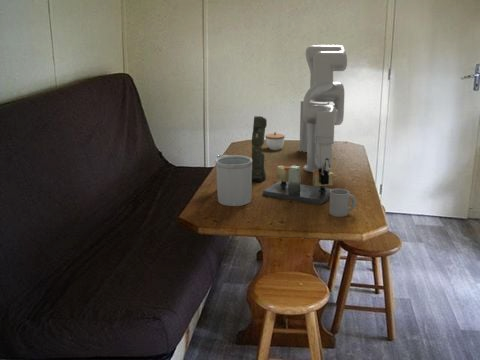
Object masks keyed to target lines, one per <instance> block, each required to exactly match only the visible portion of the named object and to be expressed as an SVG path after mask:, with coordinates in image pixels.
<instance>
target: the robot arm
mask: <svg viewBox="0 0 480 360" xmlns="http://www.w3.org/2000/svg"><path fill="white" fill-rule="evenodd" d="M305 59H306V63H307V66H308V69H309V72H310V73H309V74H310V79H309V80H310V81H309V82H310V84H309V86H310V87H309V89H308V90H307V91H306V93H305V95H304V97H303V100H304V101H303V118H304V121H305V122H306V123H307V125H308V142H307V153H306V164H305V165H304V166H303V170H304V171H305V172H307V173H313V170H317V171H319V173H322V175H321V185H325V184H329V172H330V169H331V167H332V164H333V163H332V162H333V161H332V160H333V159H332V158H333V155H332V154H333V151H332V150H333V148H332V146H333V145H334V143H335V126H340V125H342V124H343V121H344V117H345V116H344V115H345V113H344V112H345V87H344V84H343V83H342V82H339V81H334V72H344V71H346V69H347V66H348V57H347V52H346V49H345V47H344V45H340V44H336V45H335V44H331V45H330V44H327V45H326V44H317V45H310V46H308V47H306V49H305ZM310 100H312V101H314V102H329V103H332V104H329V105H313V106H310Z"/></svg>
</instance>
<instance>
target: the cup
mask: <svg viewBox="0 0 480 360" xmlns="http://www.w3.org/2000/svg"><path fill="white" fill-rule="evenodd" d="M331 189H332V190H330V198H329V203H328V205H329V206H328V207H329V208H328V209H329V210H328V212H329V215H330V216H332V217H336V218H344V217H346V216H348V215H349V212H350V211H353V210H354V209H355V208H356V206H357V198H356V197H355V195H354V194H351V193H350V191H349V190H347V189H343V188H331ZM350 199H351V205H350V203H349V202H350ZM349 205H350V206H349Z"/></svg>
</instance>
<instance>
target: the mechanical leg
mask: <svg viewBox="0 0 480 360" xmlns="http://www.w3.org/2000/svg"><path fill="white" fill-rule="evenodd" d="M252 126H253V127H252V129H253V130H252V132H251V133H252V134H251V135H252V136H251V158H252V183H261V184H262V183H263V182H264V181H265V180H267V179H266V178H267V172H266V170H265V153H264V152H262V150H263V149H262V148H263V147H262V146H263V145H264V143H265V136H266V135H265V134H266V128H267V118H266V117H264V116H258V115H257V116H256V115H255V116H254V117H253V124H252Z"/></svg>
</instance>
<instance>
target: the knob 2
mask: <svg viewBox="0 0 480 360" xmlns="http://www.w3.org/2000/svg"><path fill="white" fill-rule="evenodd" d="M321 175H322V173H319V171H317V170H313V172H312V186H316V187H320V190H325V188H326V186H333V185H334V172H332V171H329V184H325V185H321Z"/></svg>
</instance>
